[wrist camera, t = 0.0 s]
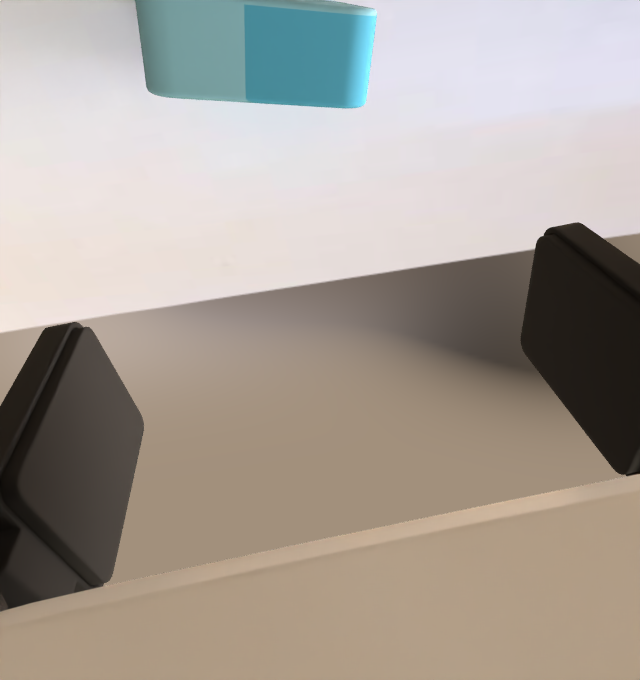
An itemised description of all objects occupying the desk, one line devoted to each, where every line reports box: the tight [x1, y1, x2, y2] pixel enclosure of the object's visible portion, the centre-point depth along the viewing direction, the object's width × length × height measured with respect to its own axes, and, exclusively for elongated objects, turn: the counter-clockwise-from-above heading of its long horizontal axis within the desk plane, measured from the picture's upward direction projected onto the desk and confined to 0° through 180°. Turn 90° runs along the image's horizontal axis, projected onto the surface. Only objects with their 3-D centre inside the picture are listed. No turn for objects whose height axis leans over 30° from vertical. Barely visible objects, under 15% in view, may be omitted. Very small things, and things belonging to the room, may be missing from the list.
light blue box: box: [135, 0, 377, 108], centre depth 28 cm, size 12×4×12 cm, turn 85°
